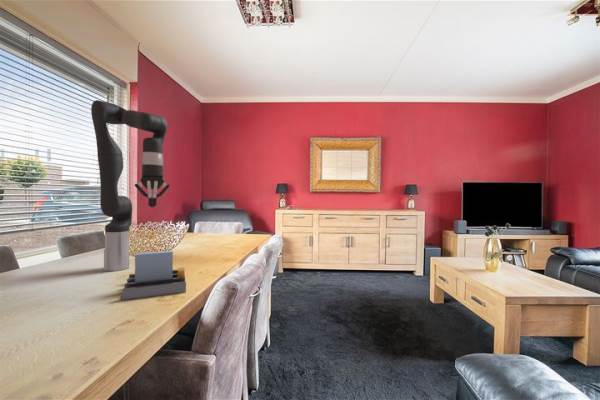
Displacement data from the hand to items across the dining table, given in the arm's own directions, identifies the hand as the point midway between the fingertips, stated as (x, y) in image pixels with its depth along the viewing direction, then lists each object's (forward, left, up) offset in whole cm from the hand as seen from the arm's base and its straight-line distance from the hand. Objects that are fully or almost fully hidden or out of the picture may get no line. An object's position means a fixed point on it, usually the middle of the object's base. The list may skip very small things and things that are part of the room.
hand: (152, 207), depth 110 cm
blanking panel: (+1, -13, -28) cm, 31 cm away
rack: (+2, -13, -29) cm, 32 cm away
